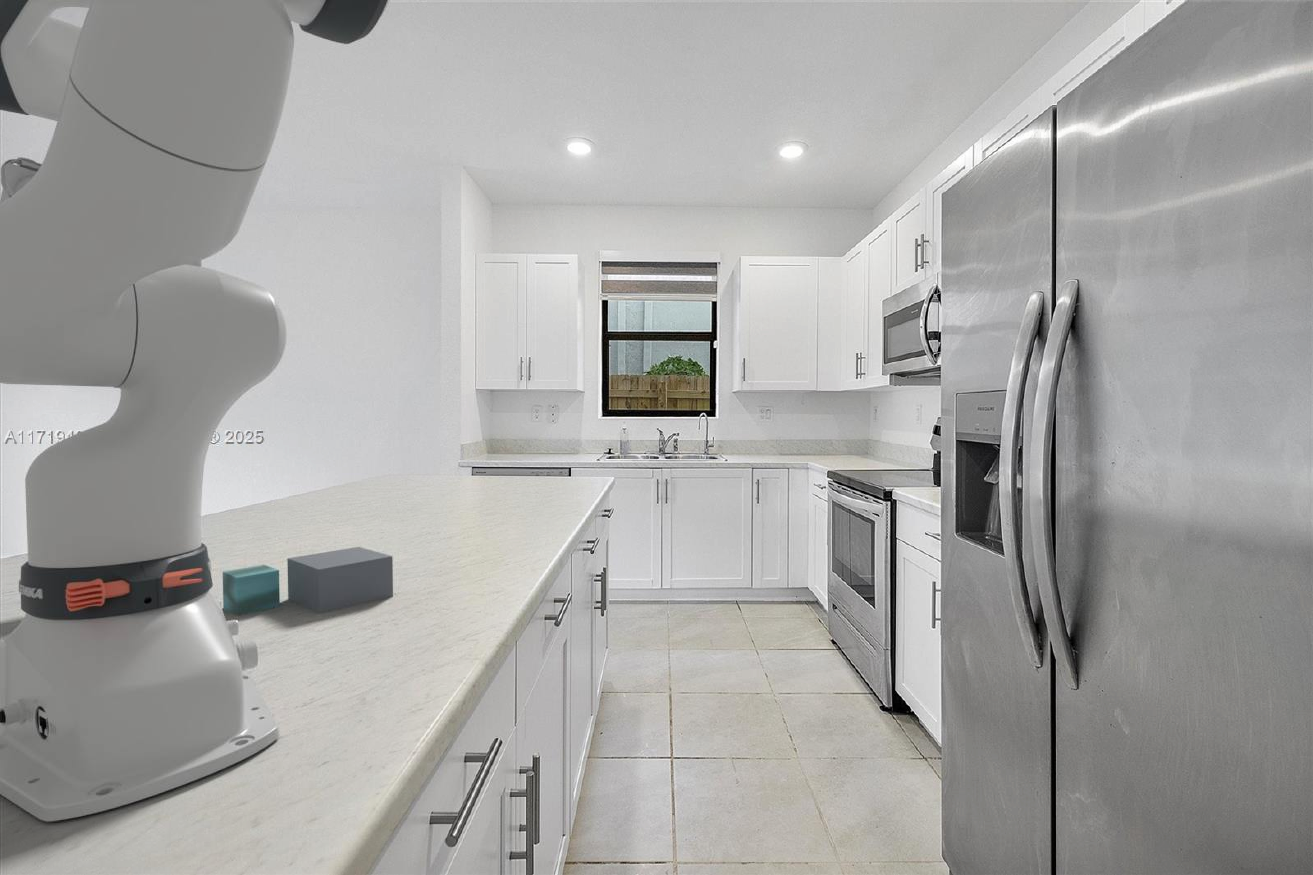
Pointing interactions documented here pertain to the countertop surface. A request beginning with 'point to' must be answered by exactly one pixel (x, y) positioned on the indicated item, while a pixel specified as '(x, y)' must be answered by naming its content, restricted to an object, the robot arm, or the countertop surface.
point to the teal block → (251, 589)
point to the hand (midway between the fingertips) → (113, 304)
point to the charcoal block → (339, 578)
